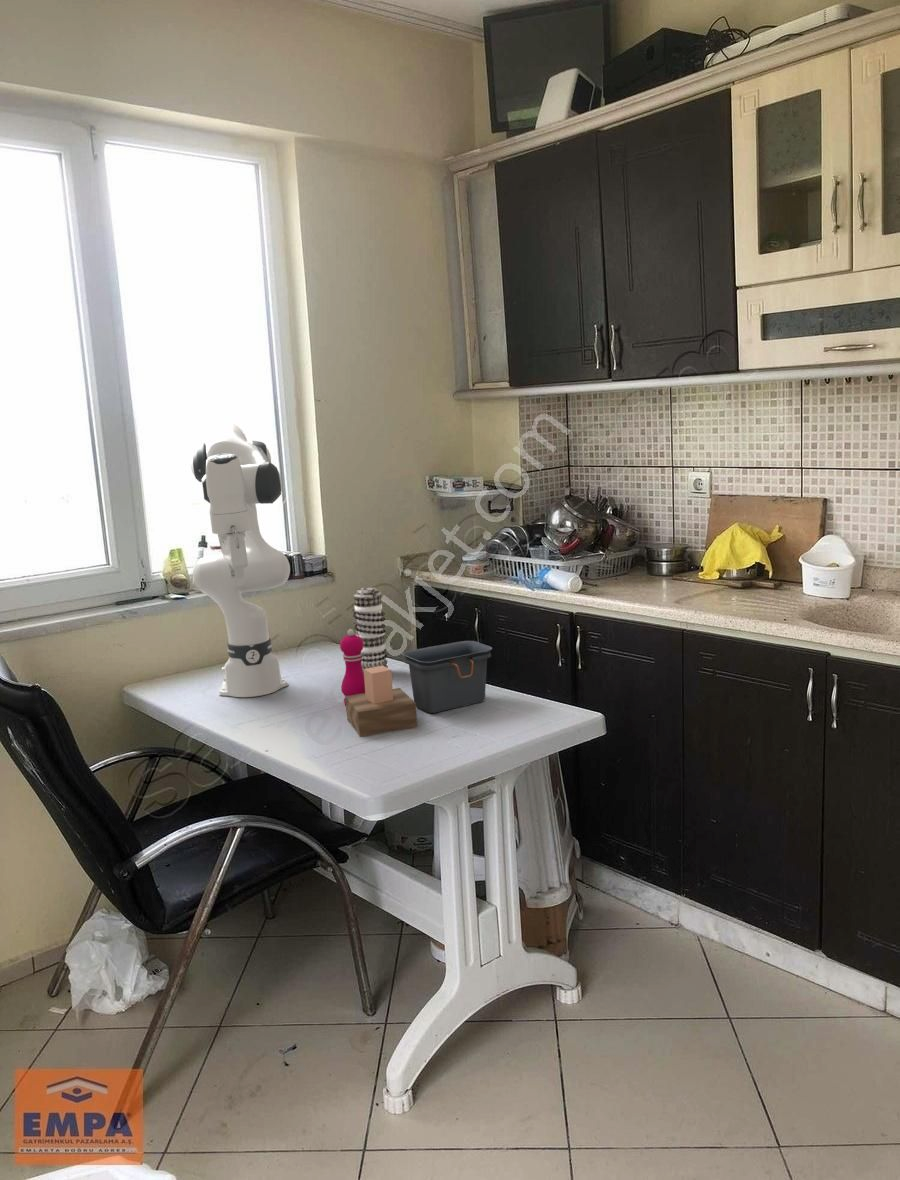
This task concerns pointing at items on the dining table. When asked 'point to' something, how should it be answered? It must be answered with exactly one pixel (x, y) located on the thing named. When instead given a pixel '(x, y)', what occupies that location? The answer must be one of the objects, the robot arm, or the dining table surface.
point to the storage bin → (448, 675)
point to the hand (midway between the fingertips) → (237, 581)
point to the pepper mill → (352, 665)
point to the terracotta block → (378, 684)
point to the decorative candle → (370, 627)
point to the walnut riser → (381, 713)
